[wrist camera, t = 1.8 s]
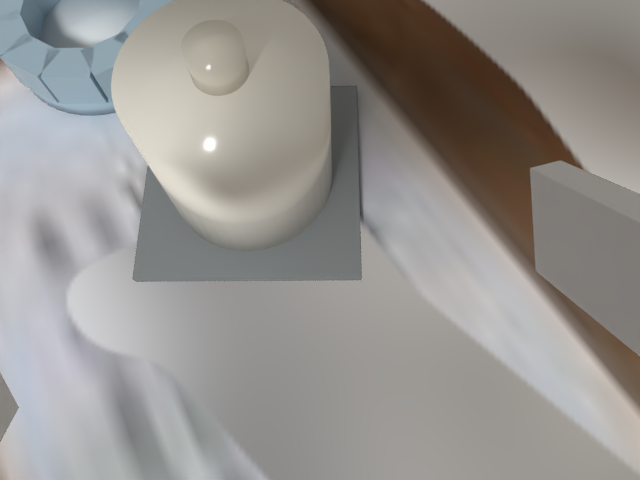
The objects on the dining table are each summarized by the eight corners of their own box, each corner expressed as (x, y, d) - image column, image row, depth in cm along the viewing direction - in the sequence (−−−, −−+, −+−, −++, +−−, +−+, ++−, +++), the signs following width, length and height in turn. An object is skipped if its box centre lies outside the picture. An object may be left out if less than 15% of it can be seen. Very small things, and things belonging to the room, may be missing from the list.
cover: (164, 251, 30) (77, 147, 20) (180, 109, 33) (112, -40, 23) (332, 250, 29) (329, 143, 20) (331, 107, 33) (328, -46, 23)
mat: (135, 281, 30) (132, 278, 29) (160, 94, 34) (158, 89, 34) (361, 280, 29) (361, 277, 29) (356, 91, 34) (356, 85, 33)
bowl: (3, 116, 34) (-33, 78, 30) (38, -19, 38) (9, -66, 34) (181, 113, 33) (164, 75, 30) (197, -23, 37) (183, -70, 34)
